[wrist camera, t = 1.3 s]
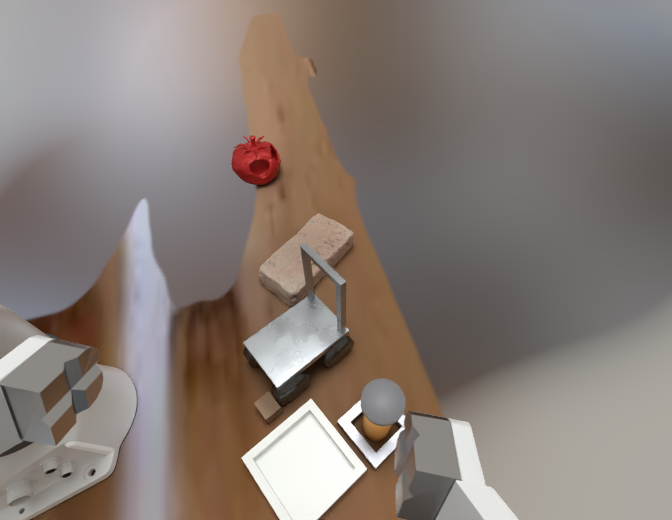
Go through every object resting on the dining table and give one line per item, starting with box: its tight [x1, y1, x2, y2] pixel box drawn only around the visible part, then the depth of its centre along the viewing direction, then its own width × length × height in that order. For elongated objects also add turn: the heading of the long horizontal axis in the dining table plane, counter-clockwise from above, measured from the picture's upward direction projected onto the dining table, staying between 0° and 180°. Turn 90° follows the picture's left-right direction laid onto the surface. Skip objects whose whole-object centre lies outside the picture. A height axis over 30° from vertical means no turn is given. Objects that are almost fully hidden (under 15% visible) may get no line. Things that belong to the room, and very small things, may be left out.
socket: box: [337, 400, 405, 470], centre depth 50 cm, size 7×7×2 cm
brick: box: [259, 213, 354, 307], centre depth 65 cm, size 17×8×5 cm, turn 142°
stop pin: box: [361, 379, 406, 442], centre depth 45 cm, size 5×5×12 cm
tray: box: [242, 399, 367, 520], centre depth 47 cm, size 11×11×2 cm
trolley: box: [243, 243, 354, 405], centre depth 49 cm, size 13×9×19 cm
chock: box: [254, 391, 283, 424], centre depth 51 cm, size 2×3×2 cm
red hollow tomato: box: [232, 136, 281, 185], centre depth 77 cm, size 10×10×9 cm
